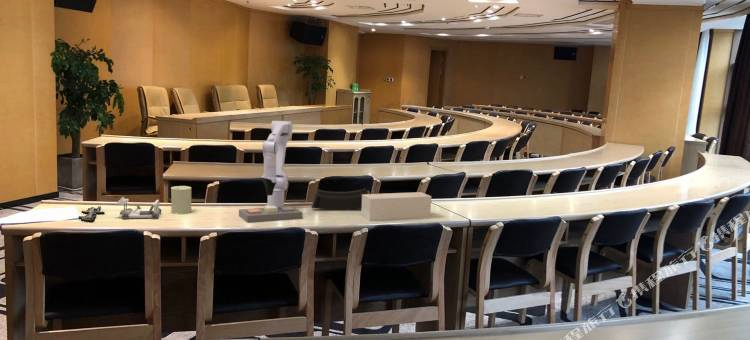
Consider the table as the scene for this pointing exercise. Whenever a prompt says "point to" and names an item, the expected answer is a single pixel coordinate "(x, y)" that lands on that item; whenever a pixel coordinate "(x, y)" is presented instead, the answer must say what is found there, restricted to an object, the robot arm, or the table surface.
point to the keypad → (270, 215)
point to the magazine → (339, 200)
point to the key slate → (286, 209)
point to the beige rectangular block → (395, 206)
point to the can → (181, 199)
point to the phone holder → (139, 214)
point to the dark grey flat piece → (91, 214)
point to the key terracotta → (253, 211)
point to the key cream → (270, 209)
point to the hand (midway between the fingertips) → (269, 195)
